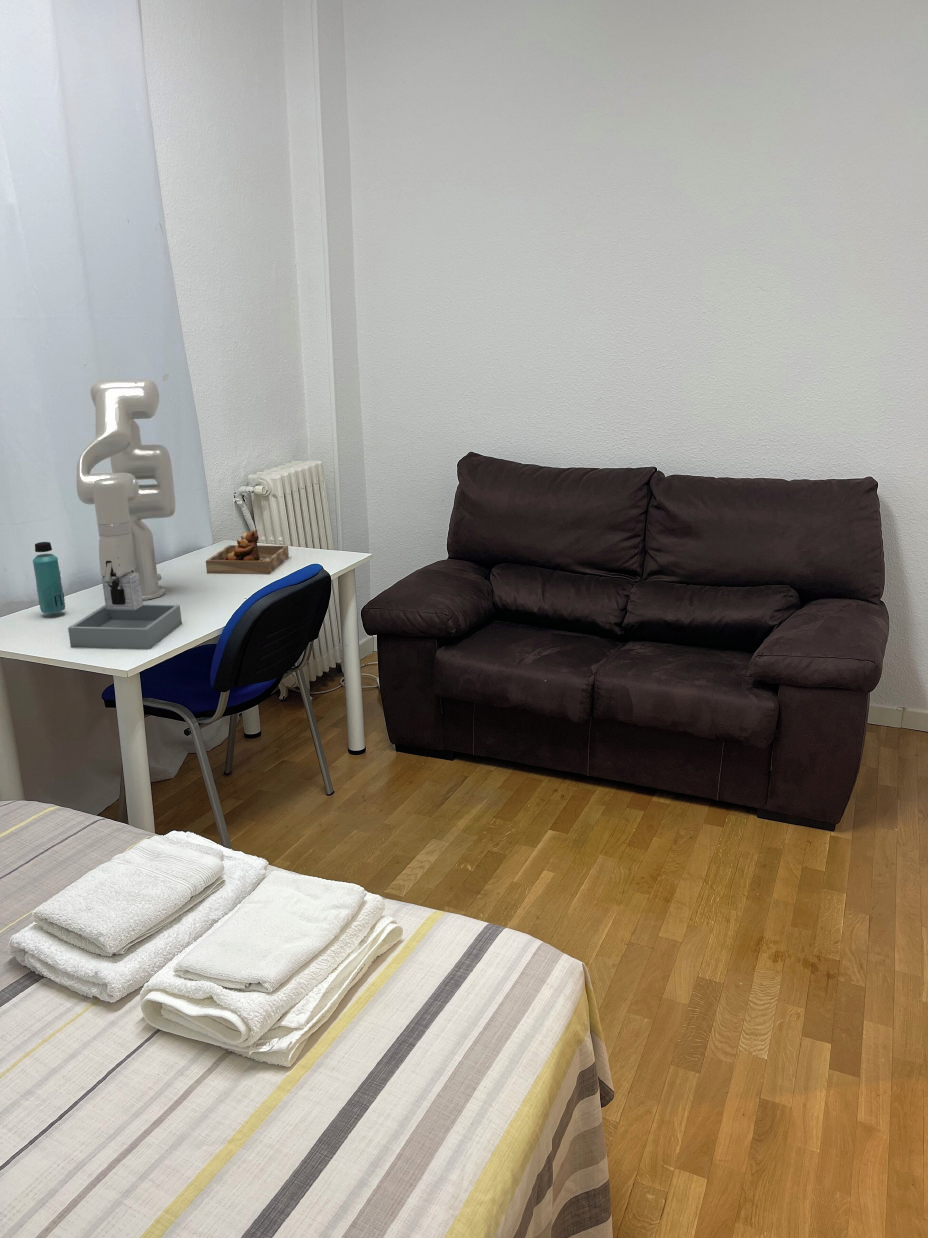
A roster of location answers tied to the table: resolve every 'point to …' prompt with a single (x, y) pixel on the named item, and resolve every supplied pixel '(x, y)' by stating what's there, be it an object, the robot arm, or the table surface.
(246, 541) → the bear figurine
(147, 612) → the bin
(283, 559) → the wooden tray
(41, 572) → the beverage bottle
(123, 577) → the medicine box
